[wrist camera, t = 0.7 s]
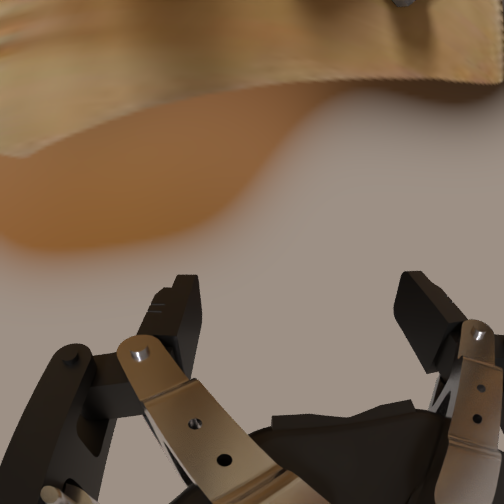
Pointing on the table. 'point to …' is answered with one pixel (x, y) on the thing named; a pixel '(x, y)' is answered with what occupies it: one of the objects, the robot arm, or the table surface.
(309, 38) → the table surface
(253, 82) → the table surface
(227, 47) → the table surface
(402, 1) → the grey u-shaped frame
